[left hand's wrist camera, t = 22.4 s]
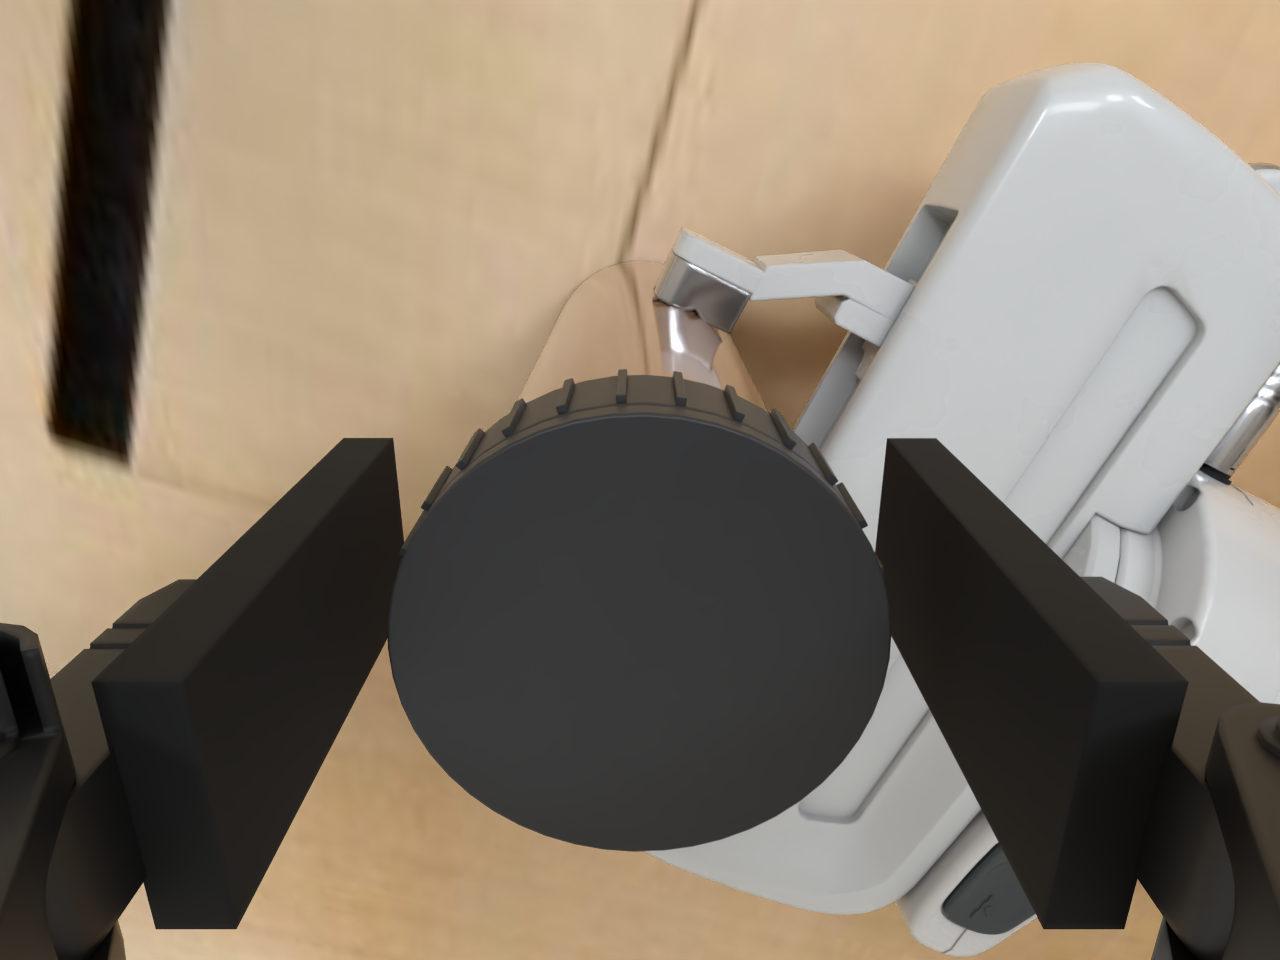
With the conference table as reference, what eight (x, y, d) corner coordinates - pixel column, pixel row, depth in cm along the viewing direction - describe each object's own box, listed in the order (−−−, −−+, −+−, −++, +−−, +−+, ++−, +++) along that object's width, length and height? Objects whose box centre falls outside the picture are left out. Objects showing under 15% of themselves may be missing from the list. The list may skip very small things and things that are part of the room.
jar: (661, 223, 24) (694, 335, 10) (757, 367, 26) (916, 657, 11) (519, 327, 25) (351, 573, 11) (620, 460, 27) (596, 838, 12)
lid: (695, 268, 10) (706, 290, 9) (943, 627, 12) (991, 703, 10) (324, 541, 11) (271, 605, 10) (596, 830, 13) (589, 927, 11)
